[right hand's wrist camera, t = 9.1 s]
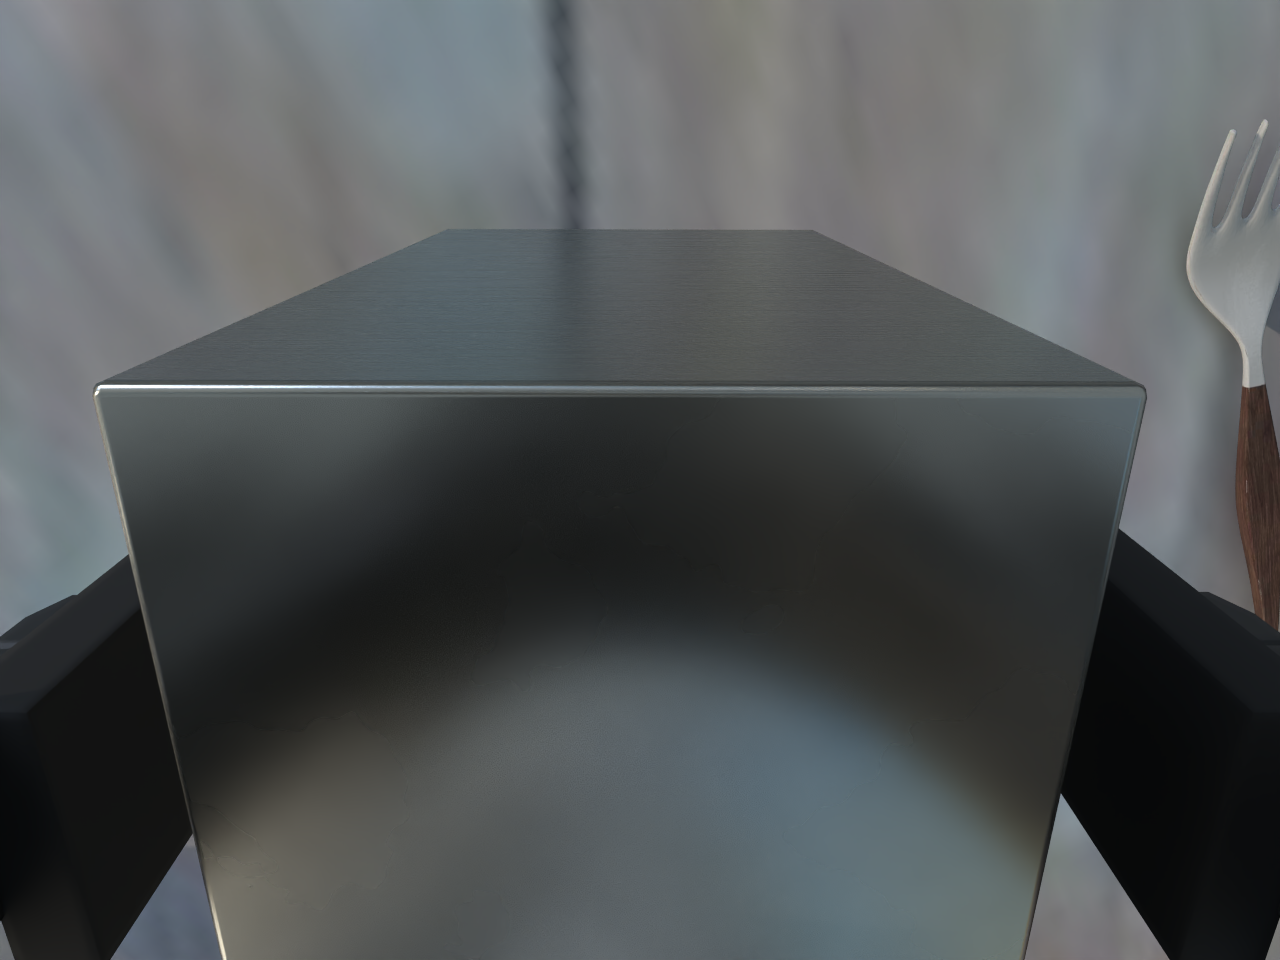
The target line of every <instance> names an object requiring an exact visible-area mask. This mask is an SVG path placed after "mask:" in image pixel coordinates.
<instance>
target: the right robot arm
mask: <svg viewBox="0 0 1280 960" xmlns="http://www.w3.org/2000/svg"><path fill="white" fill-rule="evenodd" d="M1061 794H1062V795H1063V797H1064V798H1065V800H1066V802H1067V803H1068V805H1069V806H1070V808H1071V809H1072V811H1073V812H1074V814H1075V815H1076V817H1077V818H1078V820H1079V821H1080V823H1081V824H1082V826H1083V828H1084V829H1085V831H1086V832H1087V834H1088V835H1089V837H1090V838H1091V840H1092V841H1093V843H1094V844H1095V846H1096V847H1097V849H1098V851H1099V852H1100V854H1101V855H1102V857H1103V858H1104V860H1105V861H1106V863H1107V864H1108V866H1109V867H1110V869H1111V870H1112V872H1113V873H1114V875H1115V877H1116V878H1117V880H1118V881H1119V883H1120V884H1121V886H1122V887H1123V889H1124V890H1125V892H1126V893H1127V895H1128V896H1129V898H1130V900H1131V901H1132V903H1133V904H1134V906H1135V907H1136V909H1137V910H1138V912H1139V913H1140V915H1141V916H1142V918H1143V919H1144V921H1145V922H1146V924H1147V926H1148V927H1149V929H1150V930H1151V932H1152V933H1153V935H1154V936H1155V938H1156V939H1157V941H1158V942H1159V944H1160V945H1161V947H1162V949H1163V950H1164V952H1165V953H1166V955H1167V956H1168V958H1169V959H1170V960H1265V959H1266V956H1267V953H1268V950H1269V947H1270V944H1271V941H1272V938H1273V936H1274V933H1275V930H1276V927H1277V924H1278V921H1279V918H1280V633H1279V632H1278V631H1277V630H1276V629H1274V628H1273V627H1272V626H1270V625H1269V624H1268V623H1266V622H1265V621H1264V620H1262V619H1261V618H1260V617H1258V616H1257V615H1256V614H1254V613H1252V612H1250V611H1248V610H1245V609H1243V608H1241V607H1239V606H1237V605H1235V604H1233V603H1231V602H1228V601H1226V600H1224V599H1222V598H1220V597H1218V596H1216V595H1214V594H1211V593H1209V592H1198V591H1197V590H1196V589H1194V588H1193V587H1192V586H1191V585H1189V584H1188V583H1187V582H1186V581H1184V580H1183V579H1182V578H1181V577H1179V576H1178V575H1177V574H1175V573H1174V572H1173V571H1172V570H1170V569H1169V568H1168V567H1167V566H1165V565H1164V564H1163V563H1162V562H1160V561H1159V560H1158V559H1157V558H1155V557H1154V556H1153V555H1152V554H1150V553H1149V552H1148V551H1146V550H1145V549H1144V548H1143V547H1141V546H1140V545H1139V544H1138V543H1136V542H1135V541H1134V540H1133V539H1131V538H1130V537H1129V536H1128V535H1126V534H1125V533H1124V532H1123V531H1121V530H1120V529H1119V528H1118V533H1117V537H1116V542H1115V546H1114V551H1113V556H1112V560H1111V565H1110V569H1109V574H1108V579H1107V583H1106V588H1105V592H1104V597H1103V601H1102V606H1101V611H1100V615H1099V620H1098V624H1097V629H1096V634H1095V638H1094V643H1093V647H1092V652H1091V656H1090V661H1089V666H1088V670H1087V675H1086V679H1085V684H1084V689H1083V693H1082V698H1081V702H1080V707H1079V711H1078V716H1077V721H1076V725H1075V730H1074V734H1073V739H1072V744H1071V748H1070V753H1069V757H1068V762H1067V766H1066V771H1065V776H1064V780H1063V785H1062V789H1061ZM192 834H193V832H192V828H191V823H190V819H189V814H188V810H187V806H186V801H185V797H184V793H183V788H182V784H181V780H180V775H179V771H178V766H177V762H176V758H175V753H174V749H173V745H172V740H171V736H170V731H169V727H168V723H167V718H166V714H165V710H164V705H163V701H162V697H161V692H160V688H159V683H158V679H157V675H156V670H155V666H154V662H153V657H152V653H151V649H150V644H149V640H148V635H147V631H146V627H145V622H144V618H143V614H142V609H141V605H140V600H139V596H138V592H137V587H136V583H135V579H134V574H133V570H132V566H131V561H130V557H129V554H128V555H127V556H126V557H125V558H123V559H122V560H121V561H120V562H118V563H117V564H116V565H115V566H113V567H112V568H111V569H110V570H108V571H107V572H106V573H105V574H103V575H102V576H101V577H99V578H98V579H97V580H96V581H94V582H93V583H92V584H91V585H89V586H88V587H87V588H86V589H84V590H83V591H82V592H81V593H79V594H78V595H72V596H70V597H68V598H65V599H63V600H61V601H59V602H57V603H55V604H53V605H51V606H49V607H47V608H44V609H42V610H40V611H38V612H36V613H34V614H32V615H30V616H28V617H26V618H24V619H23V620H22V621H20V622H19V623H18V624H16V625H15V626H14V627H12V628H11V629H10V630H9V631H7V632H6V633H5V634H3V635H2V636H1V637H0V921H2V924H3V927H4V930H5V933H6V936H7V939H8V941H9V944H10V947H11V950H12V953H13V956H14V959H15V960H110V959H111V958H112V956H113V955H114V953H115V952H116V950H117V948H118V947H119V945H120V944H121V942H122V941H123V939H124V938H125V936H126V935H127V933H128V932H129V930H130V929H131V927H132V926H133V924H134V922H135V921H136V919H137V918H138V916H139V915H140V913H141V912H142V910H143V909H144V907H145V906H146V904H147V903H148V901H149V899H150V898H151V896H152V895H153V893H154V892H155V890H156V889H157V887H158V886H159V884H160V883H161V881H162V880H163V878H164V877H165V875H166V873H167V872H168V870H169V869H170V867H171V866H172V864H173V863H174V861H175V860H176V858H177V857H178V855H179V854H180V852H181V850H182V849H183V847H184V846H185V844H186V843H187V841H188V840H189V838H190V837H191V835H192Z"/></svg>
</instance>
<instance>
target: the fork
mask: <svg viewBox="0 0 1280 960" xmlns="http://www.w3.org/2000/svg"><path fill="white" fill-rule="evenodd" d="M1268 124H1269V123H1268V121H1267V120H1263V122H1262V123H1261V125H1260V128H1259V130H1258V132H1257V134H1256V136H1255V139H1254V141H1253V144H1252V146H1251V148H1250V151H1249V153H1248V155H1247V158H1246V160H1245V163H1244V165H1243V168H1242V170H1241V173H1240V175H1239V178H1238V180H1237V183H1236V185H1235V188H1234V191H1233V194H1232V196H1231V199H1230V202H1229V205H1228V207H1227V210H1226V212H1225V215H1224V217H1223V219H1222V221H1221V222H1220V224H1219V225H1218V226H1216V227H1213V225H1212V219H1213V213H1214V208H1215V204H1216V200H1217V197H1218V193H1219V189H1220V185H1221V182H1222V178H1223V174H1224V171H1225V167H1226V164H1227V160H1228V157H1229V154H1230V151H1231V148H1232V145H1233V142H1234V139H1235V137H1236V135H1237V131H1236V130H1234V129H1232V130H1230V132H1229V134H1228V137H1227V139H1226V141H1225V144H1224V146H1223V149H1222V152H1221V154H1220V157H1219V159H1218V162H1217V164H1216V167H1215V170H1214V172H1213V175H1212V178H1211V180H1210V183H1209V186H1208V188H1207V191H1206V194H1205V197H1204V200H1203V203H1202V206H1201V209H1200V212H1199V215H1198V218H1197V222H1196V225H1195V228H1194V232H1193V235H1192V238H1191V242H1190V246H1189V250H1188V255H1187V264H1186V266H1187V275H1188V279H1189V282H1190V285H1191V287H1192V289H1193V291H1194V292H1195V294H1196V296H1197V297H1198V298H1199V300H1200V301H1201V302H1202V303H1203V304H1204V306H1205V307H1206V308H1207V309H1208V310H1209V311H1210V312H1211V313H1212V314H1213V315H1214V316H1215V317H1216V318H1217V319H1218V320H1219V321H1220V322H1221V323H1222V324H1223V325H1224V326H1225V327H1226V328H1227V329H1228V330H1229V331H1230V332H1231V334H1232V335H1233V336H1234V337H1235V339H1236V340H1237V342H1238V344H1239V346H1240V348H1241V351H1242V357H1243V384H1242V398H1241V411H1240V423H1239V435H1238V447H1237V463H1236V488H1235V489H1236V508H1237V516H1238V522H1239V528H1240V533H1241V538H1242V543H1243V548H1244V553H1245V558H1246V562H1247V567H1248V572H1249V578H1250V583H1251V589H1252V596H1253V602H1254V609H1255V614H1256V615H1257V616H1258V617H1260V618H1261V619H1262V620H1264V621H1265V622H1266V623H1268V624H1269V625H1270V626H1272V627H1273V628H1274V629H1276V630H1277V631H1278V625H1279V605H1280V458H1279V453H1278V447H1277V442H1276V437H1275V431H1274V426H1273V421H1272V416H1271V411H1270V406H1269V400H1268V395H1267V390H1266V384H1265V379H1264V372H1263V365H1262V339H1263V334H1264V329H1265V325H1266V322H1267V318H1268V315H1269V312H1270V309H1271V306H1272V303H1273V300H1274V298H1275V295H1276V292H1277V289H1278V286H1279V283H1280V205H1279V206H1278V207H1277V208H1276V209H1274V210H1272V208H1271V205H1272V199H1273V194H1274V191H1275V187H1276V184H1277V181H1278V178H1279V175H1280V145H1279V147H1278V149H1277V152H1276V154H1275V156H1274V159H1273V161H1272V163H1271V165H1270V168H1269V170H1268V173H1267V175H1266V177H1265V180H1264V182H1263V185H1262V187H1261V190H1260V193H1259V195H1258V198H1257V200H1256V203H1255V205H1254V207H1253V209H1252V211H1251V213H1250V214H1249V215H1248V216H1247V217H1246V218H1242V208H1243V203H1244V199H1245V196H1246V192H1247V189H1248V185H1249V182H1250V179H1251V175H1252V172H1253V169H1254V165H1255V162H1256V159H1257V156H1258V153H1259V150H1260V147H1261V144H1262V141H1263V138H1264V135H1265V133H1266V130H1267V128H1268Z"/></svg>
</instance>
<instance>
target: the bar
mask: <svg viewBox="0 0 1280 960" xmlns="http://www.w3.org/2000/svg"><path fill="white" fill-rule="evenodd" d="M93 400H94V404H95V408H96V413H97V417H98V421H99V426H100V430H101V435H102V439H103V443H104V448H105V452H106V456H107V461H108V465H109V470H110V474H111V478H112V483H113V487H114V491H115V496H116V500H117V504H118V509H119V513H120V518H121V522H122V526H123V531H124V535H125V539H126V544H127V548H128V552H129V557H130V561H131V566H132V570H133V574H134V579H135V583H136V587H137V592H138V596H139V600H140V605H141V609H142V614H143V618H144V622H145V627H146V631H147V635H148V640H149V644H150V649H151V653H152V657H153V662H154V666H155V670H156V675H157V679H158V683H159V688H160V692H161V697H162V701H163V705H164V710H165V714H166V718H167V723H168V727H169V731H170V736H171V740H172V745H173V749H174V753H175V758H176V762H177V766H178V771H179V775H180V780H181V784H182V788H183V793H184V797H185V801H186V806H187V810H188V814H189V819H190V823H191V828H192V832H193V836H194V841H195V845H196V849H197V854H198V858H199V862H200V867H201V871H202V876H203V880H204V884H205V889H206V893H207V897H208V902H209V906H210V910H211V915H212V919H213V924H214V928H215V932H216V937H217V941H218V945H219V950H220V954H221V959H222V960H1024V959H1025V954H1026V950H1027V945H1028V941H1029V936H1030V931H1031V927H1032V922H1033V918H1034V913H1035V908H1036V904H1037V899H1038V895H1039V890H1040V886H1041V881H1042V876H1043V872H1044V867H1045V863H1046V858H1047V853H1048V849H1049V844H1050V840H1051V835H1052V831H1053V826H1054V821H1055V817H1056V812H1057V808H1058V803H1059V798H1060V794H1061V789H1062V785H1063V780H1064V776H1065V771H1066V766H1067V762H1068V757H1069V753H1070V748H1071V744H1072V739H1073V734H1074V730H1075V725H1076V721H1077V716H1078V711H1079V707H1080V702H1081V698H1082V693H1083V689H1084V684H1085V679H1086V675H1087V670H1088V666H1089V661H1090V656H1091V652H1092V647H1093V643H1094V638H1095V634H1096V629H1097V624H1098V620H1099V615H1100V611H1101V606H1102V601H1103V597H1104V592H1105V588H1106V583H1107V579H1108V574H1109V569H1110V565H1111V560H1112V556H1113V551H1114V546H1115V542H1116V537H1117V533H1118V528H1119V524H1120V519H1121V514H1122V510H1123V505H1124V501H1125V496H1126V491H1127V487H1128V482H1129V478H1130V473H1131V469H1132V464H1133V459H1134V455H1135V450H1136V446H1137V441H1138V436H1139V432H1140V427H1141V423H1142V418H1143V414H1144V409H1145V404H1146V400H1147V394H1146V389H1145V387H1144V385H1142V384H1139V383H1137V382H1135V381H1133V380H1131V379H1129V378H1127V377H1125V376H1122V375H1120V374H1118V373H1116V372H1114V371H1112V370H1110V369H1108V368H1105V367H1103V366H1101V365H1099V364H1097V363H1095V362H1093V361H1090V360H1088V359H1086V358H1084V357H1082V356H1080V355H1078V354H1076V353H1073V352H1071V351H1069V350H1067V349H1065V348H1063V347H1061V346H1059V345H1056V344H1054V343H1052V342H1050V341H1048V340H1046V339H1044V338H1041V337H1039V336H1037V335H1035V334H1033V333H1031V332H1029V331H1027V330H1024V329H1022V328H1020V327H1018V326H1016V325H1014V324H1012V323H1010V322H1007V321H1005V320H1003V319H1001V318H999V317H997V316H995V315H992V314H990V313H988V312H986V311H984V310H982V309H980V308H978V307H975V306H973V305H971V304H969V303H967V302H965V301H963V300H961V299H958V298H956V297H954V296H952V295H950V294H948V293H946V292H943V291H941V290H939V289H937V288H935V287H933V286H931V285H929V284H926V283H924V282H922V281H920V280H918V279H916V278H914V277H912V276H909V275H907V274H905V273H903V272H901V271H899V270H897V269H894V268H892V267H890V266H888V265H886V264H884V263H882V262H880V261H877V260H875V259H873V258H871V257H869V256H867V255H865V254H863V253H860V252H858V251H856V250H854V249H852V248H850V247H848V246H845V245H843V244H841V243H839V242H837V241H835V240H833V239H831V238H828V237H826V236H824V235H822V234H820V233H818V232H816V231H813V230H596V229H447V230H445V231H443V232H440V233H438V234H436V235H434V236H431V237H429V238H427V239H424V240H422V241H420V242H418V243H415V244H413V245H411V246H408V247H406V248H404V249H402V250H399V251H397V252H395V253H393V254H390V255H388V256H386V257H383V258H381V259H379V260H377V261H374V262H372V263H370V264H368V265H365V266H363V267H361V268H358V269H356V270H354V271H352V272H349V273H347V274H345V275H343V276H340V277H338V278H336V279H333V280H331V281H329V282H327V283H324V284H322V285H320V286H318V287H315V288H313V289H311V290H308V291H306V292H304V293H302V294H299V295H297V296H295V297H293V298H290V299H288V300H286V301H283V302H281V303H279V304H277V305H274V306H272V307H270V308H267V309H265V310H263V311H261V312H258V313H256V314H254V315H252V316H249V317H247V318H245V319H242V320H240V321H238V322H236V323H233V324H231V325H229V326H227V327H224V328H222V329H220V330H217V331H215V332H213V333H211V334H208V335H206V336H204V337H202V338H199V339H197V340H195V341H192V342H190V343H188V344H186V345H183V346H181V347H179V348H177V349H174V350H172V351H170V352H167V353H165V354H163V355H161V356H158V357H156V358H154V359H151V360H149V361H147V362H145V363H142V364H140V365H138V366H136V367H133V368H131V369H129V370H126V371H124V372H122V373H120V374H117V375H115V376H113V377H111V378H108V379H106V380H104V381H101V382H99V383H97V384H96V385H95V387H94V390H93Z"/></svg>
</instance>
